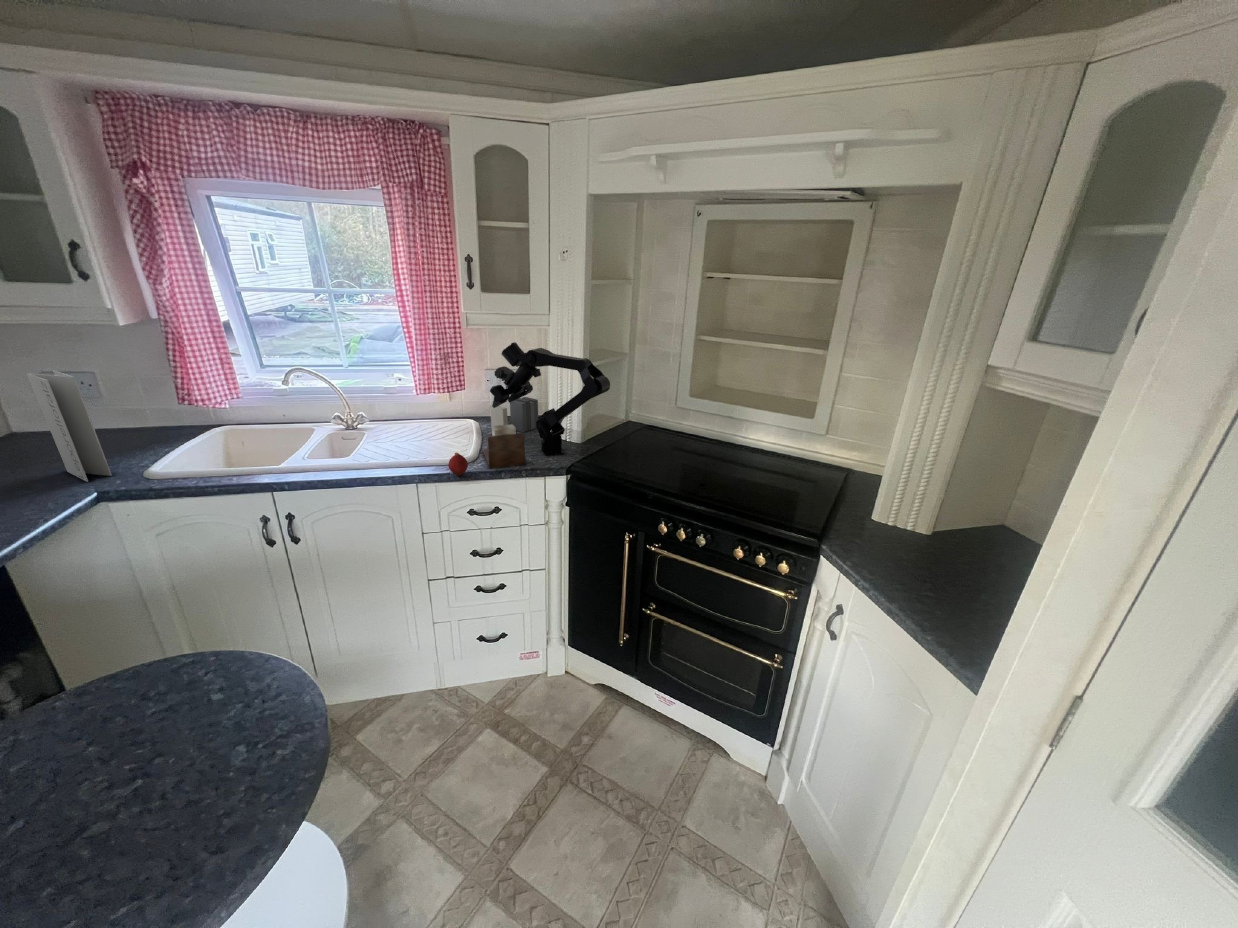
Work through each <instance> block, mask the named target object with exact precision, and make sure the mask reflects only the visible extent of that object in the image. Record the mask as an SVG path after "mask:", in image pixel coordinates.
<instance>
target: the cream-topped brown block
mask: <svg viewBox="0 0 1238 928" xmlns="http://www.w3.org/2000/svg"><path fill="white" fill-rule="evenodd" d="M492 429H493V435H487V436H486V439H487V440H486V441H487V442H486V443H487V448H486V449H482V454H483V457H484V460H485V461H486V463H487V466H488V469H499V468H507V467H515V466H517V467H518V466H525V465H526V449H525V448H526V447H525V434H524V433H525V432H521V433H517V431H516V428H515V426H514V425H513V424H511V423H510V424H508V425H499V426H492V428H491V430H492Z"/></svg>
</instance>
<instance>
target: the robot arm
mask: <svg viewBox="0 0 1238 928" xmlns="http://www.w3.org/2000/svg"><path fill="white" fill-rule="evenodd" d="M501 356H502V357H503V358H504V359H505V361H506V362H507V363H508V364H509V365H510V366H511V367H515V368H516V370H515V371H514V370H512V369H511V368H509V367H508V366H504V365H503V366H500V367H497V368H496V369H495V370H494V377H496V378H497V379H500V380H502V381H503V384H504V386H506V388H505V387H504V386H503V385H502V384H496V385H492V386H491V388H490V389H489V392H490V393H491V394H492V396H493V401H492V405H491V406H492V407H493V408H496V407H498V406H501V405H503V404H505V403H507V402H508V404H510V402H512V401H514V400H516V399H519V398H523V397H526V396H528V395H529V394H531V393H532V391H533V390H534V389H533V387H534V386H533V385H532V384H531V382H530V381H531V379H532V378H533V377H534V378H538V377H541V376H542V372H541V368H542V367H554V368H559V369H565V370H566V369H567V370H572V371H576V372H577V373H579V376H580V380H581V382H582V383H583V385H584V386H583V387H582V389H581V390H580V392H578V393H577V394H576V395H574V396H573V397H571V398H570V399H569V400H567V401H566V402H565V403H564V404H562V405H561V406H560V407H558V408H557V409H555V408H554V407H553V408H550V409H548V410H546V411H544V412H543V413H542V414H541V415H538V417H537V418H538V420H537V421H536V427H537V428H536V429H537V432H538V435H539V438H540V439H541V442H540V443H541V451H542V453H543V454H544V455H545V456H555V455H563V454H564V451H563V447H562V446H563V444H562V442H563V438H562V437H563V436H562V435H564V434H565V432H566V429H565V427H564V426H563V425H562V422H563V421H564V419H565V418H567V417H568V416H570V415H571V414H572V413H574V412H575V411H576V410H578V409H579V408H580V407H582V406H583V405H584V404H586V403H587V402H589V401H590V400H591V399H593V398H596V397H598V396H600V395H603V394H605V393H608V392H609V390H610V389H611V382H610V379H609V378H608V377H607V376H605V374H604V373H603V372H602V371H601V370H600V369H599V368H598V367H597V366H596V365H595V364H593V362H592V361H591V360H590V359H589V358H587V357H584V358H582V357H576V356H570V355H564V354H558V353H553V352H552V351H551V350H548V349H546V348H543V347H537V348H533V349H529V350H528V351H526V352H524V351H523V349H522V348H521V347H520V346H519V345H518V343H517V342H516V341H514V342H511V343H510V344H509V345H508V346H506V348H504V349H502V351H501ZM540 367H541V368H540Z"/></svg>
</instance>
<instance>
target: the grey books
mask: <svg viewBox="0 0 1238 928" xmlns="http://www.w3.org/2000/svg"><path fill="white" fill-rule="evenodd" d="M509 412H510V425H511V424H513V425H514V426H515V428H516V432H521V433H526V432H529V431H532V430H535V429H537V427H536V421H537V420H538V419H539V418H537V417H539V399H537V398H532V397H530V396H529V397H528V396H523V397H521V398H519V399H516V400H514V401H512V402H510V403H509Z"/></svg>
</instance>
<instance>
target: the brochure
mask: <svg viewBox="0 0 1238 928" xmlns="http://www.w3.org/2000/svg"><path fill="white" fill-rule="evenodd" d="M52 373H53V374H44V373H43V374H41V373H30V372H29V373H26V376H27V378H28V381H29V383H30V385H31V387H32V388H31V389H32V390H33V392H34V395H35V397H36V400H37V402H38V405H39V407H40V409H41V412H42V414H43V416H44V420H45V421H46V424H47V426H48V429H49V431H50V434H51V436H52V438H53V441H54V443H55V445H56V448H57V451H58V453H59V456H60V457H61V460H62V462H63V465H64V468H65V470H66V472H67V473H69V474H71V475H73V476H75V477H76V478H79V479H80V480H82V481H84V482H86V483H89V479H88V477H87V475H97V476H106V477H107V476H108V477H112V476H113V474H112V471H111V469H110V466H109V463H108V461H107V458H106V456H105V453H104V451H103V447H102V446H101V443H100V440H99V437H98V434H97V432H96V429H95V426H94V424H93V422H92V418H91V416H90V413H89V411H88V407H87V406H86V403H85V400H84V398H83V395H82V393H81V390H80V387H79V384H78V381H77V379H76V376H73V375H70V374H66V373H64V372H62V371H61V372H60V371H58V370H52Z"/></svg>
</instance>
